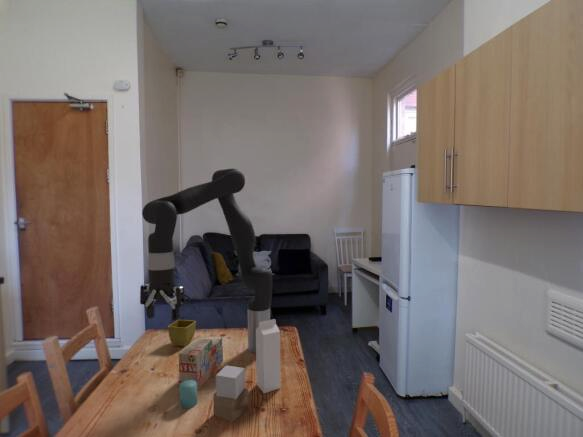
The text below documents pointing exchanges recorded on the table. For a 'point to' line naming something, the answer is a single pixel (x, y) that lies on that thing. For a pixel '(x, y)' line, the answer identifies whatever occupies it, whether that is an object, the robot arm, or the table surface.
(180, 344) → the flower pot
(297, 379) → the table surface
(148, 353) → the table surface
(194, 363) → the stack of blocks
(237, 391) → the grey block
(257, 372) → the milk
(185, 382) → the teal cylinder
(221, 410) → the walnut block
